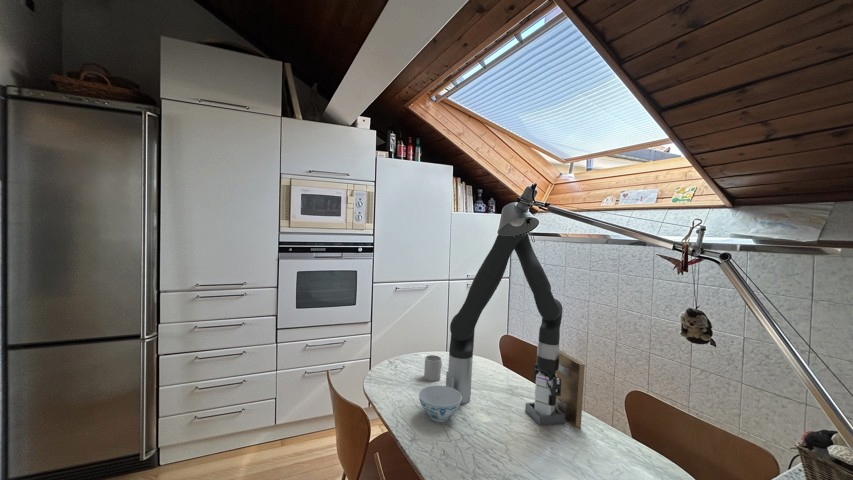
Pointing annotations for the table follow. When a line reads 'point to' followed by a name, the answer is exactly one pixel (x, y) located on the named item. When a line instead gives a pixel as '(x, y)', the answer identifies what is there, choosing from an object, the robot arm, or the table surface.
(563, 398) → the wooden board with tray
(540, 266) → the robot arm
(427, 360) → the cup
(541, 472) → the table surface
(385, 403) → the table surface
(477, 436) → the table surface
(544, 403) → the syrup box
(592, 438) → the table surface
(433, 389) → the chinaware
